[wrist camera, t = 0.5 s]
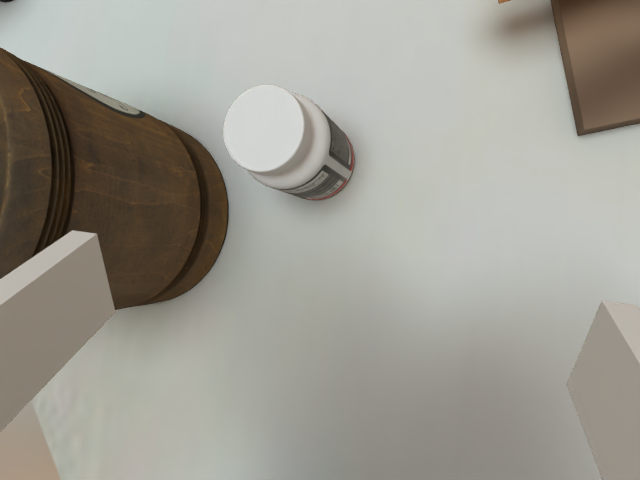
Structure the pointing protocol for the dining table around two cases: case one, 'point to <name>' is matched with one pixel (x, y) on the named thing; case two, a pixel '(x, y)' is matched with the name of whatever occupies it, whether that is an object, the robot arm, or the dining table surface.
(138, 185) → the wooden container
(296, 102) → the pill bottle
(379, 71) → the dining table surface
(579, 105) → the base
